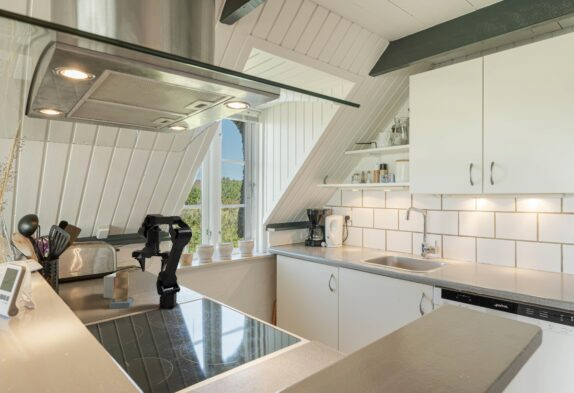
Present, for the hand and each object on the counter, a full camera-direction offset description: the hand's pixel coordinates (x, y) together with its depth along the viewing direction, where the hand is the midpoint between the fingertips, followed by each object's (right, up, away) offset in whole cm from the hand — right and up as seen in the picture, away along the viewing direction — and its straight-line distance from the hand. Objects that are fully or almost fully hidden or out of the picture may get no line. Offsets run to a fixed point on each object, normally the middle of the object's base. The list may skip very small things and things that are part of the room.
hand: (152, 272), depth 167 cm
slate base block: (-10, -14, -10) cm, 20 cm away
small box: (-20, -13, +3) cm, 24 cm away
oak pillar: (-10, -11, -10) cm, 18 cm away
